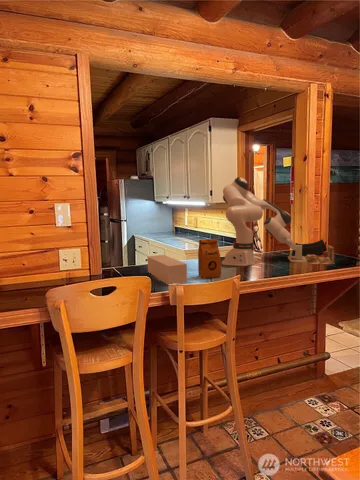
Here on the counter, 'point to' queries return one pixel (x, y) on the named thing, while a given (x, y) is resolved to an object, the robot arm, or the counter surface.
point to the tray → (296, 260)
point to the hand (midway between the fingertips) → (298, 251)
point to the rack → (326, 258)
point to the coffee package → (209, 259)
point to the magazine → (312, 248)
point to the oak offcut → (311, 256)
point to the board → (298, 254)
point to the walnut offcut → (311, 260)
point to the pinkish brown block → (167, 269)
